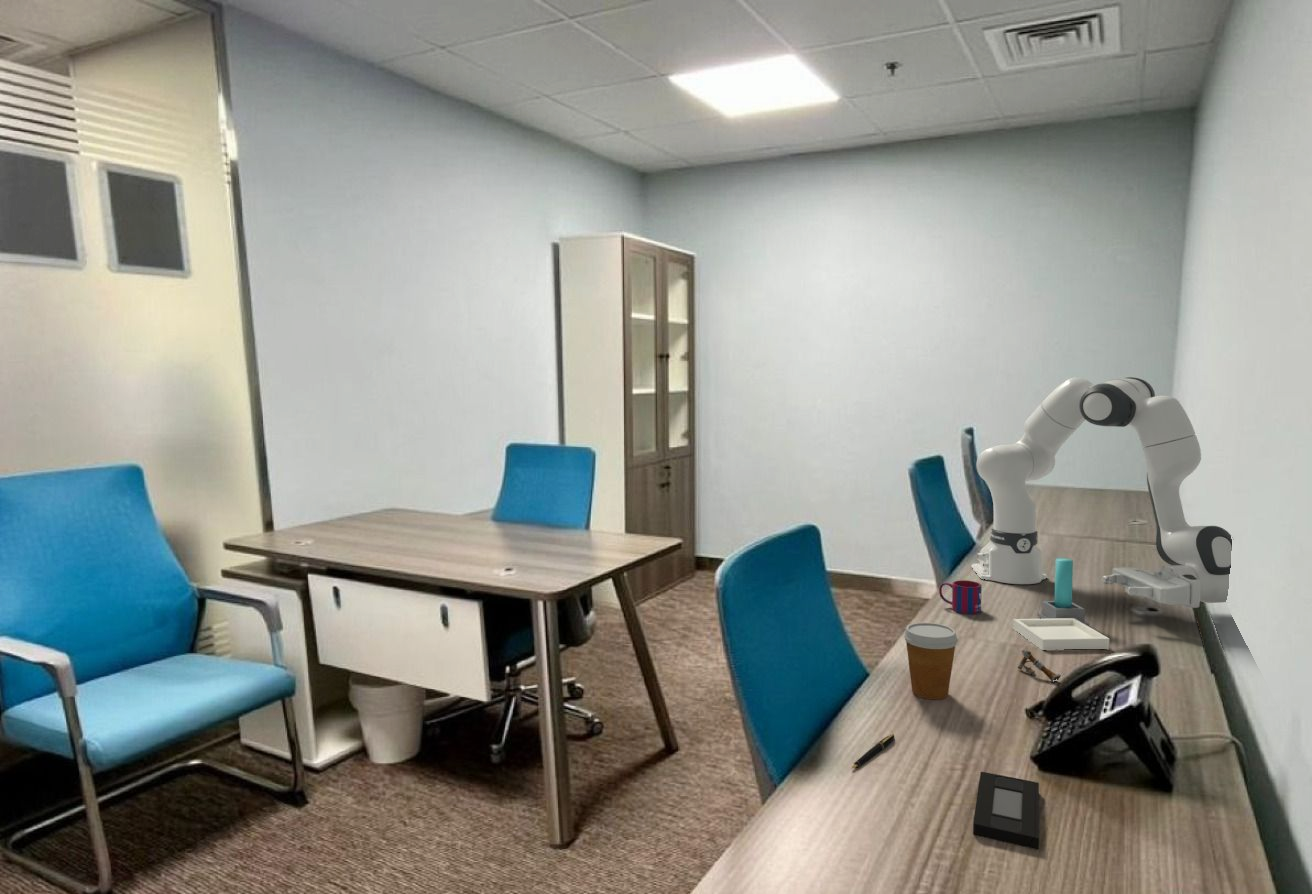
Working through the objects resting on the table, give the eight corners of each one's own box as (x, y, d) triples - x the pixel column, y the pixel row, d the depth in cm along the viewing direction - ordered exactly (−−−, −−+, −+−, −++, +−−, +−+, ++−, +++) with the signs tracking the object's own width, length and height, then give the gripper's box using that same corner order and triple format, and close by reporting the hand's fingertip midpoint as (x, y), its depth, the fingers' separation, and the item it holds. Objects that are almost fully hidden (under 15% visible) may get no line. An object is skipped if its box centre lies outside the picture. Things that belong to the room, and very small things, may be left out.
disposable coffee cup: (892, 687, 144) (892, 625, 143) (932, 679, 147) (933, 619, 146) (926, 707, 135) (927, 641, 134) (969, 698, 138) (970, 634, 137)
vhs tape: (972, 838, 97) (973, 823, 97) (980, 784, 110) (980, 771, 110) (1038, 853, 94) (1038, 838, 94) (1038, 796, 107) (1038, 782, 106)
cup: (975, 616, 186) (975, 588, 185) (935, 608, 192) (935, 582, 192) (985, 609, 191) (985, 583, 190) (945, 602, 197) (945, 576, 197)
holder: (1037, 616, 184) (1037, 600, 184) (1070, 616, 184) (1071, 599, 184) (1054, 627, 176) (1054, 610, 176) (1088, 626, 176) (1089, 609, 176)
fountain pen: (854, 774, 113) (854, 765, 113) (847, 772, 114) (847, 762, 114) (897, 740, 123) (897, 731, 123) (890, 738, 124) (890, 729, 124)
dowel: (1051, 616, 182) (1052, 558, 181) (1066, 615, 182) (1067, 558, 181) (1058, 620, 178) (1060, 562, 177) (1074, 620, 178) (1076, 561, 177)
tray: (1012, 629, 175) (1012, 619, 175) (1073, 628, 175) (1074, 618, 175) (1042, 650, 162) (1042, 639, 161) (1109, 649, 161) (1109, 638, 161)
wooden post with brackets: (1017, 663, 152) (1026, 646, 151) (1051, 691, 146) (1061, 674, 144) (1012, 665, 152) (1020, 647, 150) (1046, 693, 145) (1055, 676, 144)
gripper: (1147, 560, 189) (1091, 561, 189) (1204, 582, 169) (1142, 583, 169) (1146, 585, 190) (1090, 586, 190) (1203, 610, 169) (1141, 611, 170)
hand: (1115, 585), depth 179 cm, fingers open, 8 cm apart
